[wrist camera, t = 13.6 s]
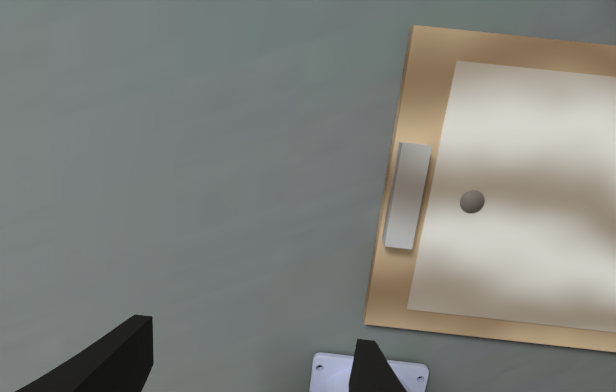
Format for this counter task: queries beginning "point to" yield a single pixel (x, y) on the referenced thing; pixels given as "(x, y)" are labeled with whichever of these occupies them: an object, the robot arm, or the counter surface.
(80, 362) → the robot arm
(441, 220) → the clipboard
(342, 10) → the counter surface
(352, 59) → the counter surface
